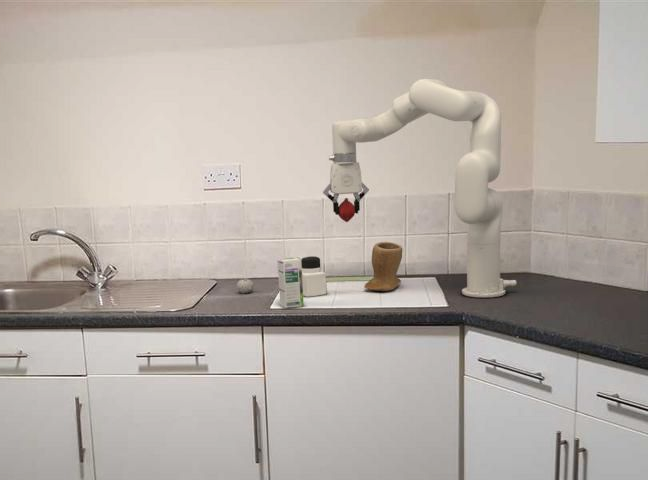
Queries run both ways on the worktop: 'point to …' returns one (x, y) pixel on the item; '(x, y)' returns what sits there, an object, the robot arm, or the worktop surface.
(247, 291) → the garlic
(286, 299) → the syrup box
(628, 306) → the worktop surface
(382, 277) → the stone cup
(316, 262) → the medicine bottle
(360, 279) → the edge strip
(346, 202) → the pomegranate
